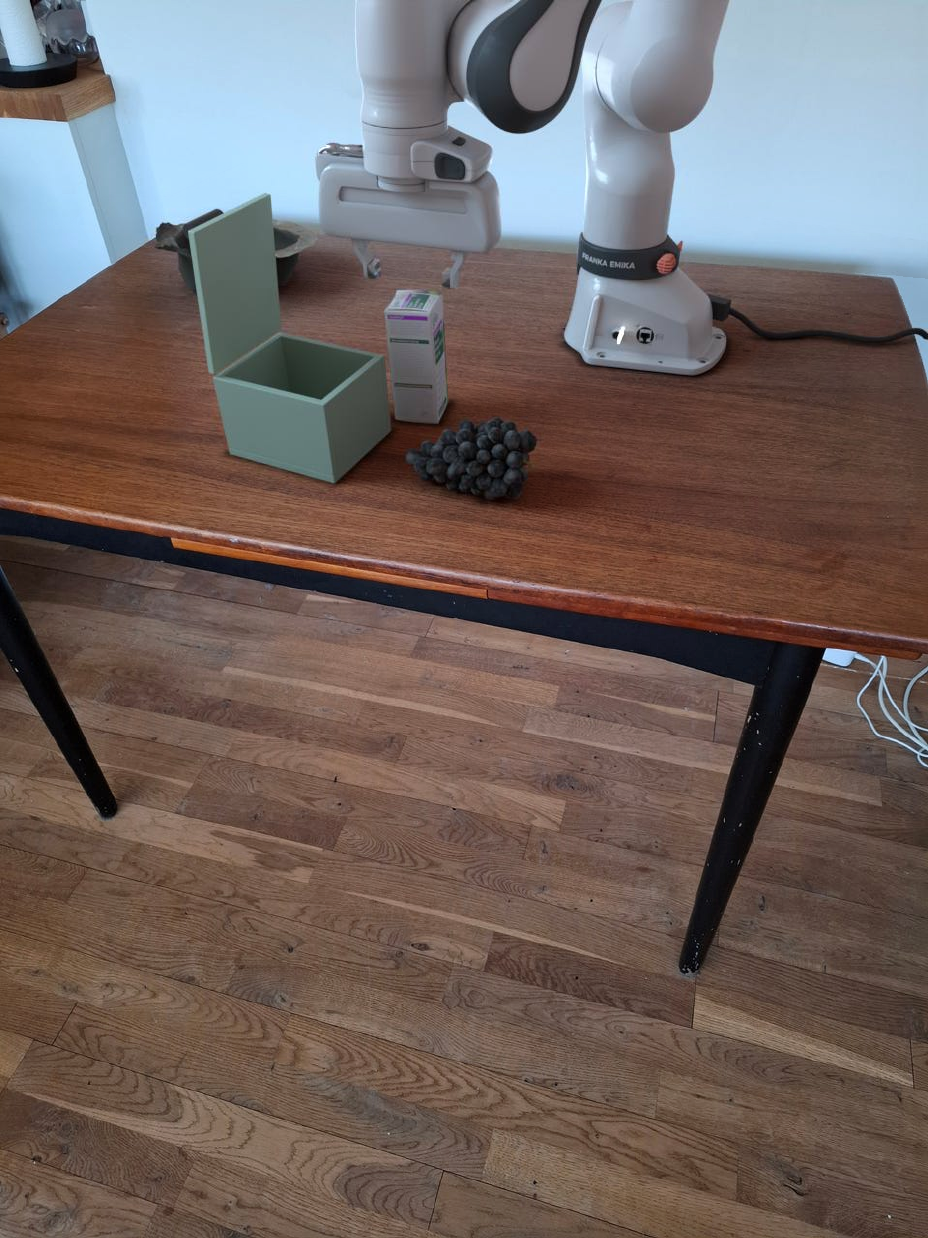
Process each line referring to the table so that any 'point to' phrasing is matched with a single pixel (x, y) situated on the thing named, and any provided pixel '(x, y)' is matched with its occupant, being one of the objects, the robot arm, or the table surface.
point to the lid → (235, 279)
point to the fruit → (477, 458)
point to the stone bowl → (285, 239)
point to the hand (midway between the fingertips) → (411, 282)
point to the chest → (304, 405)
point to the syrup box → (417, 355)
